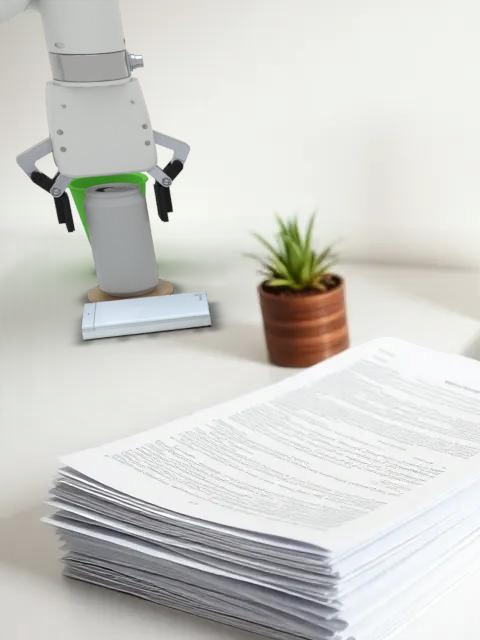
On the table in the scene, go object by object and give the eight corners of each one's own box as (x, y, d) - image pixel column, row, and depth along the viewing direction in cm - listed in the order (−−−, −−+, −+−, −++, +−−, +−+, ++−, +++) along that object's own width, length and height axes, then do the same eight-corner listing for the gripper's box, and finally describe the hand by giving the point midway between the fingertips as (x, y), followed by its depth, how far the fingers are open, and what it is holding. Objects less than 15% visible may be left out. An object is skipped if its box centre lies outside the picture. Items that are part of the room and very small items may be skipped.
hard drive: (206, 289, 127) (84, 301, 123) (209, 313, 121) (80, 326, 116) (208, 303, 128) (86, 315, 123) (212, 327, 121) (83, 341, 117)
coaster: (76, 307, 126) (76, 304, 126) (102, 281, 134) (102, 278, 134) (161, 305, 127) (160, 302, 127) (182, 280, 135) (181, 276, 135)
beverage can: (116, 280, 133) (98, 180, 128) (170, 282, 133) (153, 181, 128) (89, 298, 127) (68, 193, 123) (145, 300, 127) (127, 195, 122)
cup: (74, 281, 134) (55, 189, 129) (91, 258, 142) (74, 171, 137) (155, 277, 136) (140, 187, 131) (167, 255, 144) (154, 169, 139)
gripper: (171, 59, 127) (193, 208, 134) (-4, 67, 119) (29, 225, 126) (183, 68, 121) (205, 223, 128) (-1, 77, 113) (33, 242, 120)
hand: (118, 224), depth 127 cm, fingers open, 9 cm apart
